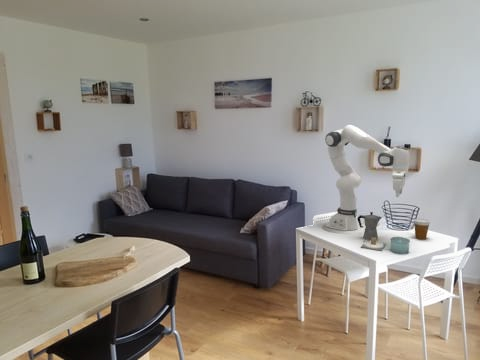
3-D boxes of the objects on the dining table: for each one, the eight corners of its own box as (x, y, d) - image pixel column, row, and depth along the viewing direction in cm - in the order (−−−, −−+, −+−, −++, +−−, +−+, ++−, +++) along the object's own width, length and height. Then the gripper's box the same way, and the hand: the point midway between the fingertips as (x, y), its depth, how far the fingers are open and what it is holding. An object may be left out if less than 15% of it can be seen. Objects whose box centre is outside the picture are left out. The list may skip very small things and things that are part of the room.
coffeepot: (379, 236, 238) (380, 210, 235) (382, 241, 229) (383, 214, 226) (355, 235, 240) (356, 210, 237) (357, 240, 231) (358, 213, 228)
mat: (360, 247, 218) (360, 246, 218) (365, 241, 228) (365, 241, 228) (381, 251, 212) (381, 250, 211) (385, 245, 221) (385, 244, 221)
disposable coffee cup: (425, 235, 237) (426, 218, 235) (431, 240, 228) (432, 222, 226) (410, 235, 238) (411, 218, 236) (415, 240, 229) (417, 222, 227)
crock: (388, 252, 210) (388, 240, 209) (391, 246, 219) (392, 235, 218) (407, 255, 204) (408, 243, 203) (410, 249, 213) (411, 238, 212)
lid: (361, 246, 218) (361, 239, 217) (366, 241, 228) (366, 233, 227) (381, 250, 212) (381, 242, 211) (385, 244, 221) (385, 236, 220)
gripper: (397, 170, 227) (396, 191, 230) (391, 175, 210) (390, 197, 213) (408, 171, 224) (406, 192, 226) (403, 175, 207) (401, 198, 209)
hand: (398, 195), depth 219 cm, fingers open, 8 cm apart
